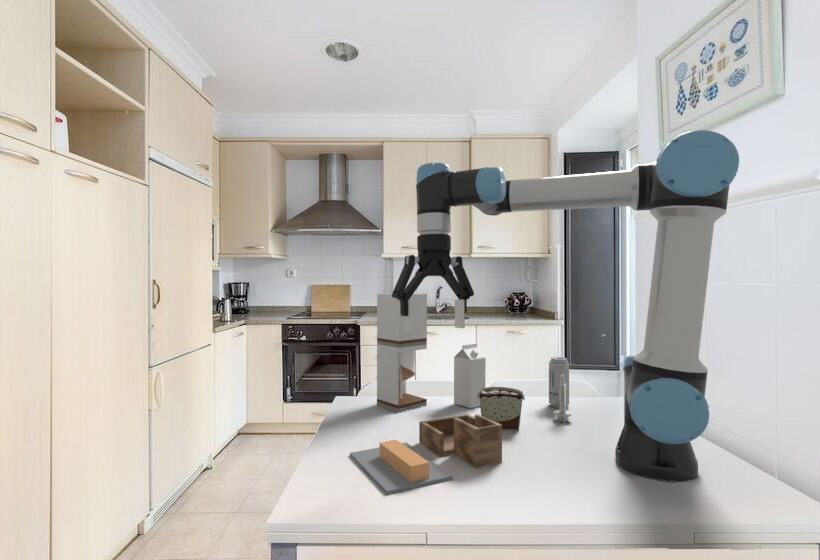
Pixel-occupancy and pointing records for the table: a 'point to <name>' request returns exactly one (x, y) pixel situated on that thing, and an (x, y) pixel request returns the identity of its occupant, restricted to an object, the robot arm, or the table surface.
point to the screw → (562, 402)
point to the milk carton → (469, 376)
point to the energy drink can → (558, 380)
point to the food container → (502, 406)
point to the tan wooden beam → (404, 460)
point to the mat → (395, 471)
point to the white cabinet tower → (398, 351)
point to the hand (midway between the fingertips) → (435, 329)
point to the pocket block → (464, 438)
